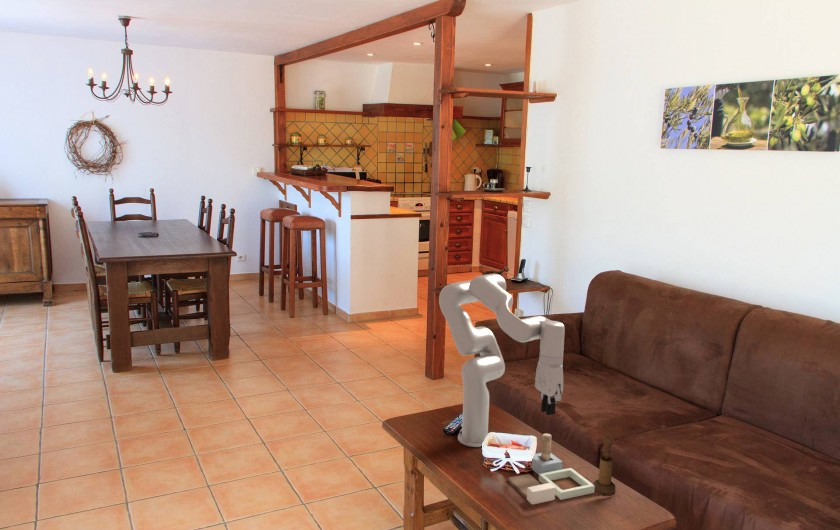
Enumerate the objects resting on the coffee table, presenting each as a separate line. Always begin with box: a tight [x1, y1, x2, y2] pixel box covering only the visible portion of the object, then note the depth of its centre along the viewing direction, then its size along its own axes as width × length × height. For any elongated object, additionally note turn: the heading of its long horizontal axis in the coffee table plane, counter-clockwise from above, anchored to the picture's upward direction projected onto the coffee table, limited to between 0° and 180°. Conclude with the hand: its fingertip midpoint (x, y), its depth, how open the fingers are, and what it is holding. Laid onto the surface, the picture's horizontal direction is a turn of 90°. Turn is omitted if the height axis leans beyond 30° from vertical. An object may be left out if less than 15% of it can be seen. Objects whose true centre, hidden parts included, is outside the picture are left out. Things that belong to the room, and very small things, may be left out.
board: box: [507, 473, 542, 500], centre depth 201 cm, size 12×8×2 cm, turn 21°
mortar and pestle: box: [593, 436, 616, 497], centre depth 201 cm, size 7×6×18 cm
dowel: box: [540, 433, 552, 462], centre depth 213 cm, size 3×3×12 cm
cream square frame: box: [538, 467, 595, 501], centre depth 202 cm, size 12×12×3 cm
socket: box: [531, 452, 564, 476], centre depth 213 cm, size 8×8×5 cm
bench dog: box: [526, 483, 556, 505], centre depth 194 cm, size 3×8×5 cm, turn 112°
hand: (548, 412), depth 210 cm, fingers closed
